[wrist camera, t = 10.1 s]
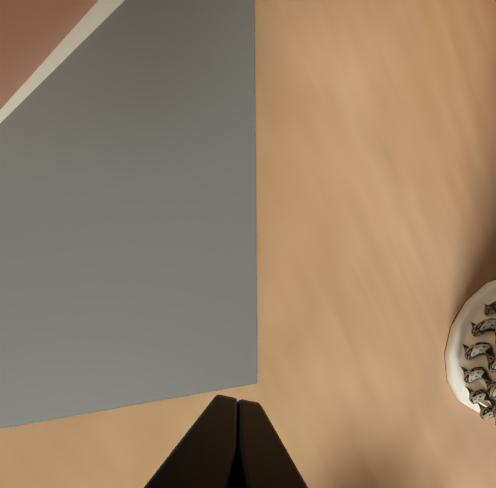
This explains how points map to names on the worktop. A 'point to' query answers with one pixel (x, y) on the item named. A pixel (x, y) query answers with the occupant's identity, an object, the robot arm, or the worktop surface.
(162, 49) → the slate layout card
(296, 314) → the worktop surface
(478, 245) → the worktop surface
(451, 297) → the worktop surface
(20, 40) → the terracotta fence panel
